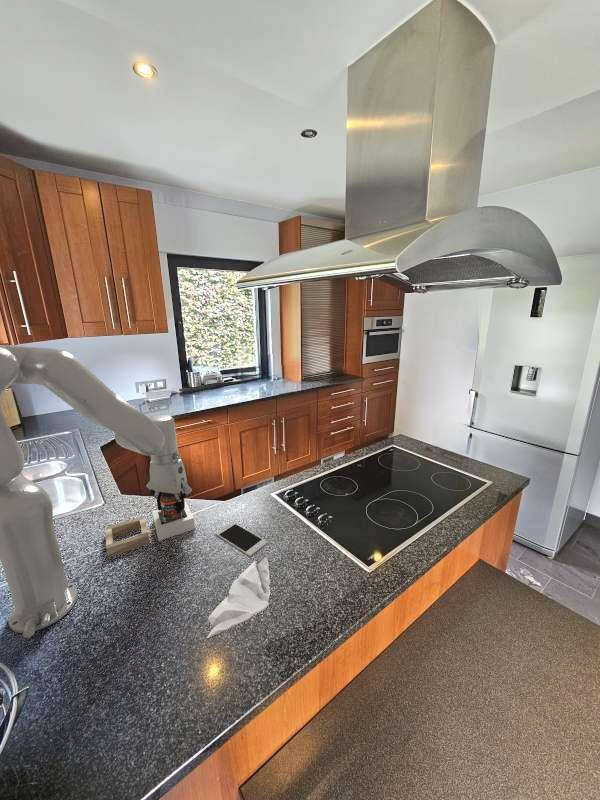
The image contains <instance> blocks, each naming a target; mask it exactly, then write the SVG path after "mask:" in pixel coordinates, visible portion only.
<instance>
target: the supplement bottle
mask: <svg viewBox="0 0 600 800" xmlns="http://www.w3.org/2000/svg"><path fill="white" fill-rule="evenodd" d="M179 495H180V493H179ZM180 496H181V495H180ZM176 502H177V499H176V497H175V495H174V494H172V493H165V492H163V494H162V495H161V497H160V504H161V512H162V520H163V522H162V523H163V524H166V523H170V522H173V521H176V520H179V519H182V518H183V516H182V511H181V512H180V513H177V510H176Z"/></svg>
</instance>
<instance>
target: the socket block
mask: <svg viewBox="0 0 600 800" xmlns="http://www.w3.org/2000/svg"><path fill="white" fill-rule="evenodd" d="M184 503H185V508H184V509H183V510H182V515H183V517H182V519H179V520H176V521H173V522H170V523H166V524H164V523H163V520H162V512H161V510H158V509H154V510H152V511H151V512H152V513H151V514H152V519H153V525H154V528H155V534H156V536H157V537H156V538H157V540H158V542H160V541H163V540H166V539H169V538H172V537H175V536H177V535H181V534H184V533H187V532H190V531H193V530H196V526H195V518H194V516H193V514H192V511H191V509H190V507H189V505H188V503H187V501H184ZM184 517H185V518H184ZM162 523H163V524H162Z"/></svg>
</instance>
